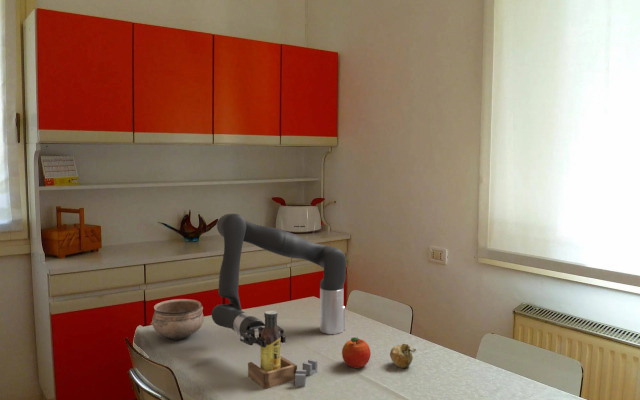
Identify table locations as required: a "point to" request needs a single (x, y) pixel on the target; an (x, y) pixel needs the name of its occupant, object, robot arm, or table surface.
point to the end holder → (273, 374)
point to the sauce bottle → (271, 343)
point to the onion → (402, 355)
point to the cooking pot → (177, 318)
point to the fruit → (356, 353)
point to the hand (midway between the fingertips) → (274, 342)
